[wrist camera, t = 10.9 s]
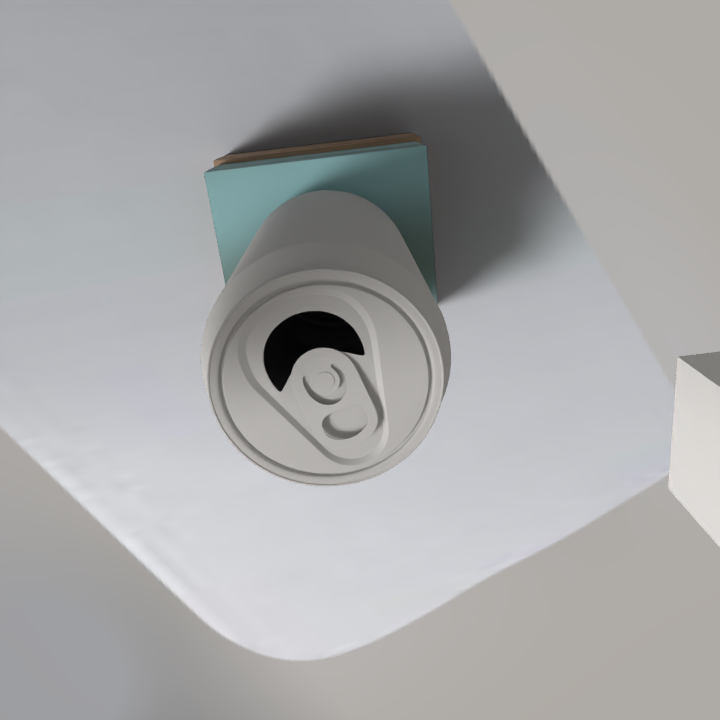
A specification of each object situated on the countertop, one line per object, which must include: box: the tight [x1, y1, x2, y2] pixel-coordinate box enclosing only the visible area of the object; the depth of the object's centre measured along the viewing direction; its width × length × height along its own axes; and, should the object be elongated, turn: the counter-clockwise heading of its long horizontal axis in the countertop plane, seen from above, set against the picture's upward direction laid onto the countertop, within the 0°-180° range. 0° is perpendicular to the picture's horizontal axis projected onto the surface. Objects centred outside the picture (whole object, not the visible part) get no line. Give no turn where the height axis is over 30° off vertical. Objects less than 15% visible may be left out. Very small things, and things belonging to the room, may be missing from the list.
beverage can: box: [201, 190, 451, 486], centre depth 21 cm, size 6×6×12 cm
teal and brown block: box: [204, 133, 438, 305], centre depth 30 cm, size 9×9×7 cm
